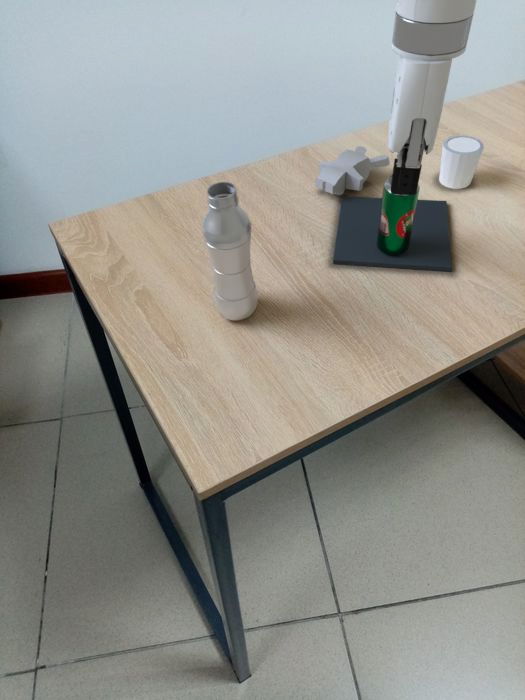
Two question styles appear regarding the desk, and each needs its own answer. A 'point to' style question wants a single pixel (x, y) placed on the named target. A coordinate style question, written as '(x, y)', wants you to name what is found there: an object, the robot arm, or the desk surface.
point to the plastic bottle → (229, 252)
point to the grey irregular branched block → (348, 171)
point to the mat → (362, 231)
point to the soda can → (396, 220)
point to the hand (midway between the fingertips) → (403, 190)
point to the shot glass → (459, 161)
